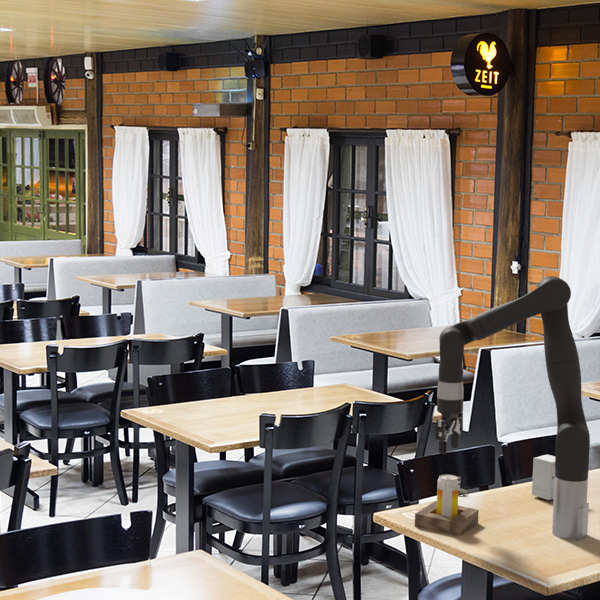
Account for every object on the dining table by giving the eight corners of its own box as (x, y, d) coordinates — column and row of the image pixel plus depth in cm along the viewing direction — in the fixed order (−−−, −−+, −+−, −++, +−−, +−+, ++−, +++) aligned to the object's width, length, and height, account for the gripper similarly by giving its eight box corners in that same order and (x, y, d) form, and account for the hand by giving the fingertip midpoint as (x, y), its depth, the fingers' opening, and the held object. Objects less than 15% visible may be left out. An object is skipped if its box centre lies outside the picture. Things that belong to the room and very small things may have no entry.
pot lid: (464, 499, 312) (465, 484, 311) (430, 492, 318) (431, 478, 318) (479, 490, 322) (480, 475, 321) (446, 483, 328) (446, 469, 327)
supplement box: (549, 500, 311) (551, 462, 309) (531, 494, 316) (532, 457, 315) (563, 496, 315) (565, 458, 314) (544, 490, 321) (546, 453, 319)
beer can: (456, 523, 288) (458, 474, 286) (457, 530, 282) (459, 480, 280) (435, 522, 289) (437, 473, 287) (436, 529, 283) (438, 479, 281)
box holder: (478, 524, 288) (478, 509, 287) (459, 538, 276) (459, 523, 275) (434, 515, 295) (435, 501, 295) (414, 528, 283) (415, 513, 283)
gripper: (452, 402, 273) (450, 458, 275) (472, 393, 285) (470, 447, 287) (427, 398, 277) (426, 454, 279) (448, 390, 289) (447, 443, 291)
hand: (448, 450), depth 283 cm, fingers open, 8 cm apart
